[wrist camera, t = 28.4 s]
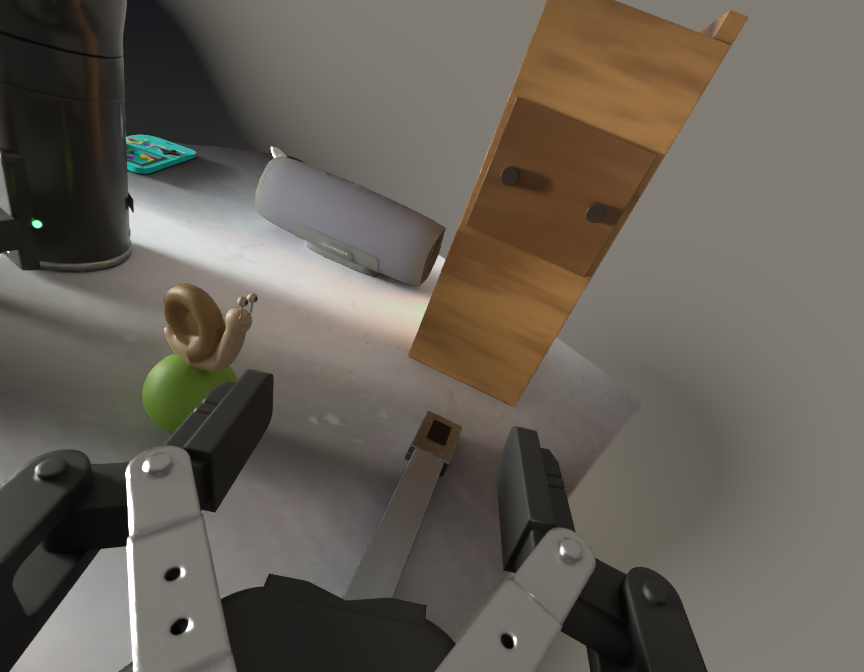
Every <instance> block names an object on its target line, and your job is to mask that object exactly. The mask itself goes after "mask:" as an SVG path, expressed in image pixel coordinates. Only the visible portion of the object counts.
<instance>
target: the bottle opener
mask: <svg viewBox="0 0 864 672" xmlns="http://www.w3.org/2000/svg"><path fill="white" fill-rule="evenodd" d="M461 430H462V427H461V426H459V425H457V424H455V423H453V422H451V421H449V420H447V419H445V418H443V417H441V416H439V415H437V414H434V413H432V412H430V411H427V413H426V415H425V417H424V419H423V421H422V423H421V425H420V427H419V429H418V431H417V433H416V435H415V437H414V439H413V441H412V443H411V445H410V448H409V450H408V452H407V454H406V456H405V459H407V460H409V462H408V464H407V466H406V468H405V470H404V472H403V474H402V476H401V478H400V480H399V483H398V485H397V487H396V489H395V491H394V493H393V495H392V497H391V499H390V501H389V503H388V505H387V507H386V509H385V512H384V514H383V516H382V518H381V520H380V522H379V524H378V526H377V528H376V530H375V532H374V534H373V536H372V538H371V541H370V543H369V545H368V547H367V549H366V551H365V553H364V555H363V557H362V559H361V561H360V563H359V565H358V567H357V570H356V572H355V574H354V576H353V578H352V580H351V582H350V584H349V586H348V588H347V590H346V592H345V594H344V596H343V599H344V600H361V599H374V598H393V597H394V594H395V591H396V589H397V586H398V583H399V581H400V578H401V575H402V573H403V570H404V567H405V565H406V562H407V559H408V557H409V554H410V552H411V549H412V546H413V544H414V541H415V538H416V536H417V533H418V530H419V528H420V525H421V522H422V520H423V517H424V514H425V512H426V509H427V506H428V504H429V501H430V498H431V496H432V493H433V490H434V488H435V485H436V482H437V480H438V477H439V476H441V477H442V476H443V475H444V473H445V471H446V469H447V467H448V465H449V463H450V460H451V458H452V455H453V452H454V449H455V447H456V444H457V441H458V438H459V435H460V433H461Z"/></svg>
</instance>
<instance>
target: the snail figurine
mask: <svg viewBox="0 0 864 672" xmlns="http://www.w3.org/2000/svg"><path fill="white" fill-rule="evenodd" d="M257 300H258V297H257V295H256V294H255V293H250V294H249V295H248V296H247V298H246V297H239V298H238V300H237V304H238V305H239V306H241V307H242V308H238V307H237V308H232V309H231V310H229V311H228V312H227V314H226V317H225V322H224V319H223V316H222V314H221V311H220V309H219V308H218V306H217V304H216V303H215V302H214V300H213V299H212V298H211V297H210V296H209V295H208V294H207V293H206V292H205V291H203V290H202V289H201V288H198V287H197V286H194V285H191V284H178V285H175V286H173V287H172V288H170V289H169V290H168V292H167V293H166V295H165V297H164V302H163V310H164V315H165V318H166V321H167V323H168V325H169V327H165V329H164V333H165V337H166V339H167V341H168V344H169V345H170V347H171V348H172V350H173V351H174V352H175V354H172V355H170V356H168V357H166V358H164V359H163V360H161V361H160V362H159V363H158V364H157V365H156V366H155V367H154V368H153V369H152V370H151V371H150V373H149V374H148V376H147V378H146V380H145V383H144V386H143V392H142V399H143V404H144V408H145V410H146V412H147V414H148V415H149V417H150V418H151V419H152V421H153V422H154V423H156V424H157V425H158V426H159V427H161V428H163V429H165V430H167V431H169V432H172V433H174V431H175V430H176V429H177V428H178V427H179V426H180V425H181V424H182V423H183V421H184V420H185V419H186V418H187V417H188V416H189V415H190V414H191V412H194V409H195V408H196V407H197V406H198V405H199V403H200V402H201V403H202V400H203V399H204V398H205V397H206V396H207V394H208V393H209V392H210V391H211V390H212V389H213V388H215V387H217V386H219V385H221V384H223V383H224V382H226V381H231V382H235V383H236V382H237V381H238V380H237V377H236V375H235V373H234V371H233V369H232V368H231V367H230V365H231V364H232V363H233V362H234V360H235V359H236V357H237V355H238V354H239V352H240V350H241V347H242V345H243V342H244V339H245V335H246V332H247V331H248V330H249V329H250V327H251V324H252V317H251V312H252V308H253V303H255V302H256V301H257ZM248 302H250V303H251V310H250V313H249V312H248V311H247V310H245V309H243V307H245V306H247V304H248ZM225 323H226V327H225Z"/></svg>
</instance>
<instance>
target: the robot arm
mask: <svg viewBox="0 0 864 672" xmlns="http://www.w3.org/2000/svg"><path fill="white" fill-rule="evenodd" d="M126 5H127V0H0V253H4V254H5V255H6V256H8V257H9V258H10V259H11V260H12V261H13V262H14V263H15V264H16V265H17V266H18V267H20V268H21V269H22V270H32V269H48V270H57V271H90V270H98V269H104V268H108V267H112V266H115V265H117V264H120V263H122V262H123V261H125V260H126V259H127V258H128V257H129V256H130V255H131V251H132V250H131V241H130V228H129V207H130V208H131V210H132V211H133V213H134V208H133V199H132V197H131V196H130V194H129V193H128V177H127V150H126V124H125V99H124V97H125V93H124V66H123V56H122V55H123V28H124V21H125V15H126ZM272 411H273V375H272V374H270V373H265V372H260V371H256V370H251V369H248V370H246V371H245V373H244V374H243V375H242V376H241V377H240V379H239V380H238V381H237V382H236V383H235V382H231V381H226V382H224V383H223V384H221V385H219V386H217V387H215V388H213V389H212V390H211V391H210V392H209V393H208V394H207V396H206V397H205V398H204V399H203V400H202V403H201V402H200V403H199V405H198V406H197V407H196V408H195V409H194V412H191V414H190V415H189V416H188V417H187V418H186V419H185V420H184V421H183V423H182V424H181V425H180V426H179V427H178V428H177V429H176V430H175V431H174V433H173V434H172V435H171V436H170V437H169V438H168V439H167V440H166V442H165V443H164V444H163V445H162V446H159V447H154V448H151V449H148V450H146V451H144V452H142V453H140V454H139V455H137V456H136V457H135V458H134V459H133V460H132V461H131V462H125V463H111V464H92V465H91V464H90V461H89V458H88V457H87V455H86V454H84V453H82V452H80V451H76V450H58V451H53V452H49V453H46V454H43V455H41V456H38V457H36V458H34V459H32V460H31V461H29V462H27V463H26V464H25V465H24V466H22V467H21V468H20V469H19V470H18V471H17V472H15V473H14V474H13V475H12V476H11V477H10V478H9V479H8V480H7V481H5V482H4V483H3V484H2V485H1V486H0V672H9V671H10V670H11V668H12V667H13V666H14V664H15V663H16V662H17V660H18V659H19V658H20V656H21V655H22V654H23V652H24V651H25V650H26V648H27V647H28V646H29V644H30V643H31V642H32V640H33V639H34V638H35V636H36V635H37V634H38V632H39V631H40V630H41V628H42V627H43V626H44V624H45V623H46V622H47V620H48V619H49V618H50V616H51V615H52V614H53V612H54V611H55V610H56V608H57V607H58V605H59V604H60V603H61V601H62V600H63V599H64V597H65V596H66V595H67V593H68V592H69V591H70V589H71V588H72V587H73V585H74V584H75V583H76V581H77V580H78V579H79V577H80V576H81V575H82V573H83V572H84V571H85V569H86V568H87V567H88V565H89V564H90V563H91V561H92V560H93V559H94V557H95V556H96V555H97V553H98V552H99V551H100V549H105V548H114V547H124V546H127V554H128V574H129V594H130V614H131V633H132V653H133V662H131V663H130V664H129V665H127V666H126V667H124V668H123V669H122V670H120V671H119V672H537V670H538V669H539V667H540V665H541V663H542V662H543V660H544V658H545V656H546V655H547V653H548V651H549V650H550V648H551V646H552V644H553V643H554V641H555V639H556V637H557V636H558V634H559V632H560V631H561V632H563V633H565V634H567V635H569V636H570V637H572V638H574V639H575V640H577V641H579V642H581V643H582V644H584V645H586V648H587V654H588V659H589V665H590V672H707V669H706V666H705V664H704V661H703V658H702V655H701V653H700V650H699V648H698V645H697V642H696V639H695V637H694V634H693V631H692V628H691V626H690V623H689V621H688V618H687V615H686V613H685V610H684V607H683V604H682V601H681V599H680V597H679V595H678V593H677V592H676V590H675V589H674V588H673V586H672V585H671V584H670V583H669V582H668V581H667V580H666V579H665V578H664V577H662V576H661V575H660V574H658V573H657V572H655V571H653V570H651V569H648V568H644V567H635V568H633V569H631V570H630V571H629V572H628V574H624V573H623V572H621V571H619V570H617V569H615V568H613V567H611V566H609V565H607V564H605V563H603V562H601V561H600V560H598V559H596V558H595V556H594V553H593V551H592V549H591V547H590V546H589V544H588V543H587V542H586V541H585V540H584V539H583V538H582V537H581V536H580V535H578V534H577V533H576V532H575V528H574V524H573V520H572V516H571V512H570V508H569V504H568V500H567V496H566V492H565V490H564V483H563V479H561V477H562V475H561V471H560V467H559V463H558V461H557V460H556V459H555V457H554V456H553V454H552V453H551V451H550V450H548V449H544V448H540V443H539V438H538V434H537V432H536V431H534V430H530V429H525V428H521V427H516V426H514V427H513V428H512V429H511V431H510V434H509V436H508V439H507V441H506V444H505V446H504V449H503V451H502V454H501V456H500V459H499V462H498V467H497V488H498V502H499V516H500V530H501V543H502V557H503V570H504V571H509V572H514V573H515V575H514V576H513V577H512V578H511V577H509V578H508V579H507V580H506V582H505V583H504V584H503V585H502V587H501V588H500V589H499V590H498V592H497V593H496V594H495V596H494V597H493V598H492V599H491V601H490V602H489V603H488V604H487V606H486V607H485V608H484V610H483V611H482V612H481V613H480V615H479V616H478V617H477V618H476V620H475V621H474V622H473V623H472V625H471V626H470V627H469V629H468V630H467V631H466V632H465V634H464V635H463V636H462V637H461V639H460V640H459V641H458V643H457V644H455V642H454V641H453V640H452V639H451V638H450V637H449V636H448V634H446V633H445V632H444V631H443V630H442V629H441V628H440V627H438V626H437V625H435V624H434V623H433V622H431V621H429V620H427V619H425V617H426V605H423V604H418V603H413V602H408V601H403V600H398V599H393V598H374V599H361V600H344V599H341V598H339V597H337V596H335V595H334V594H332V593H330V592H328V591H326V590H324V589H322V588H320V587H318V586H316V585H314V584H312V583H310V582H308V581H304V580H299V579H294V578H289V577H284V576H279V575H274V574H269V575H268V577H267V580H266V582H265V584H264V586H262V587H254V588H249V589H245V590H242V591H239V592H236V593H233V594H231V595H229V596H227V597H224V598H223V599H220V594H219V589H218V584H217V579H216V575H215V570H214V565H213V560H212V555H211V550H210V545H209V540H208V535H207V531H206V526H205V521H204V517H203V514H201V511H202V510H206V511H211V512H216V510H217V509H218V507H219V506H220V504H221V502H222V501H223V499H224V497H225V496H226V494H227V493H228V491H229V489H230V488H231V486H232V484H233V483H234V481H235V480H236V478H237V476H238V475H239V473H240V472H241V470H242V468H243V467H244V465H245V463H246V462H247V460H248V459H249V457H250V455H251V454H252V452H253V451H254V449H255V447H256V446H257V444H258V442H259V441H260V439H261V438H262V436H263V434H264V433H265V431H266V429H267V428H268V425H269V423H270V420H271V416H272Z"/></svg>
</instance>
